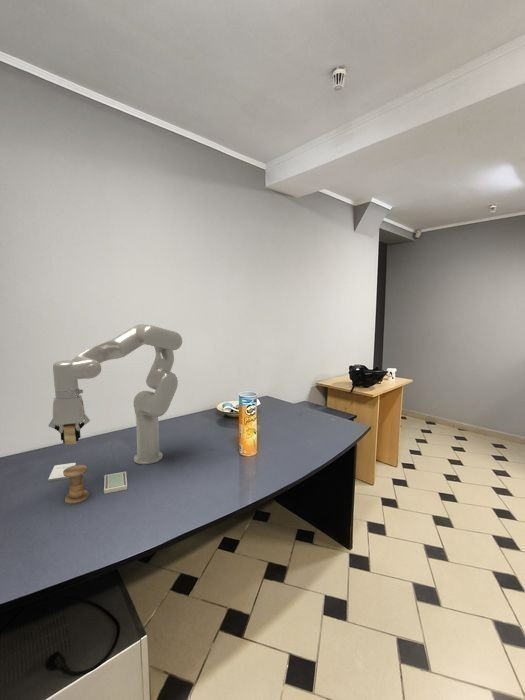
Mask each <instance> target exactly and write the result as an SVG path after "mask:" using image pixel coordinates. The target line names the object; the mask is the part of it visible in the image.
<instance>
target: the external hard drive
mask: <svg viewBox="0 0 525 700" xmlns="http://www.w3.org/2000/svg"><path fill="white" fill-rule="evenodd" d="M74 465H77V463H76V462H69V463H64V464H57V465H56V464H55V465H54V466H53V468H52V470H51V472H50V474H49V477H48V478H47V479H48V480H47V482H48V483H49V482H55V481H60V480H61V481H62V480H63V481H64V480H67V479H69V480H70V477H65V476H64V475H63V471H64V470H65V469H66V468H68V467H71V466H74Z"/></svg>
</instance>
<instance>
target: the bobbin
mask: <svg viewBox="0 0 525 700" xmlns="http://www.w3.org/2000/svg"><path fill="white" fill-rule="evenodd" d="M87 472H88V466H87V465H85V464H76V465H74V466H71V467H68V468H66V469H65V470H64V471H63V475H64V476H65V477H70V478H69V483H68V492H69V493H68V494H66V495H65V497H64V502H65V504H71V505H73V504H78V503H82V502H84V501H85V500H87V499H88V498H89V496H90V492H89V491H88V490H87V489H85V482H84V480H83V475H84V474H85V473H87Z"/></svg>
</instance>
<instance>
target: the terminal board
mask: <svg viewBox="0 0 525 700" xmlns="http://www.w3.org/2000/svg"><path fill="white" fill-rule="evenodd" d="M103 482H104V484H103V486H104V488H103V492H104V494H105V495H106V494H110V493H114V492H120V491H126V490H128V480H127V471H121V472H116V473H110V474H105V475H104V481H103Z"/></svg>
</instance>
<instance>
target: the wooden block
mask: <svg viewBox="0 0 525 700" xmlns="http://www.w3.org/2000/svg"><path fill="white" fill-rule="evenodd" d="M63 430H64V439H65V443H64V445H65V446H69V445H76V444H77V442H78V441H76V436H75V431H76V426H75V424H67V425H64V427H63Z"/></svg>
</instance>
